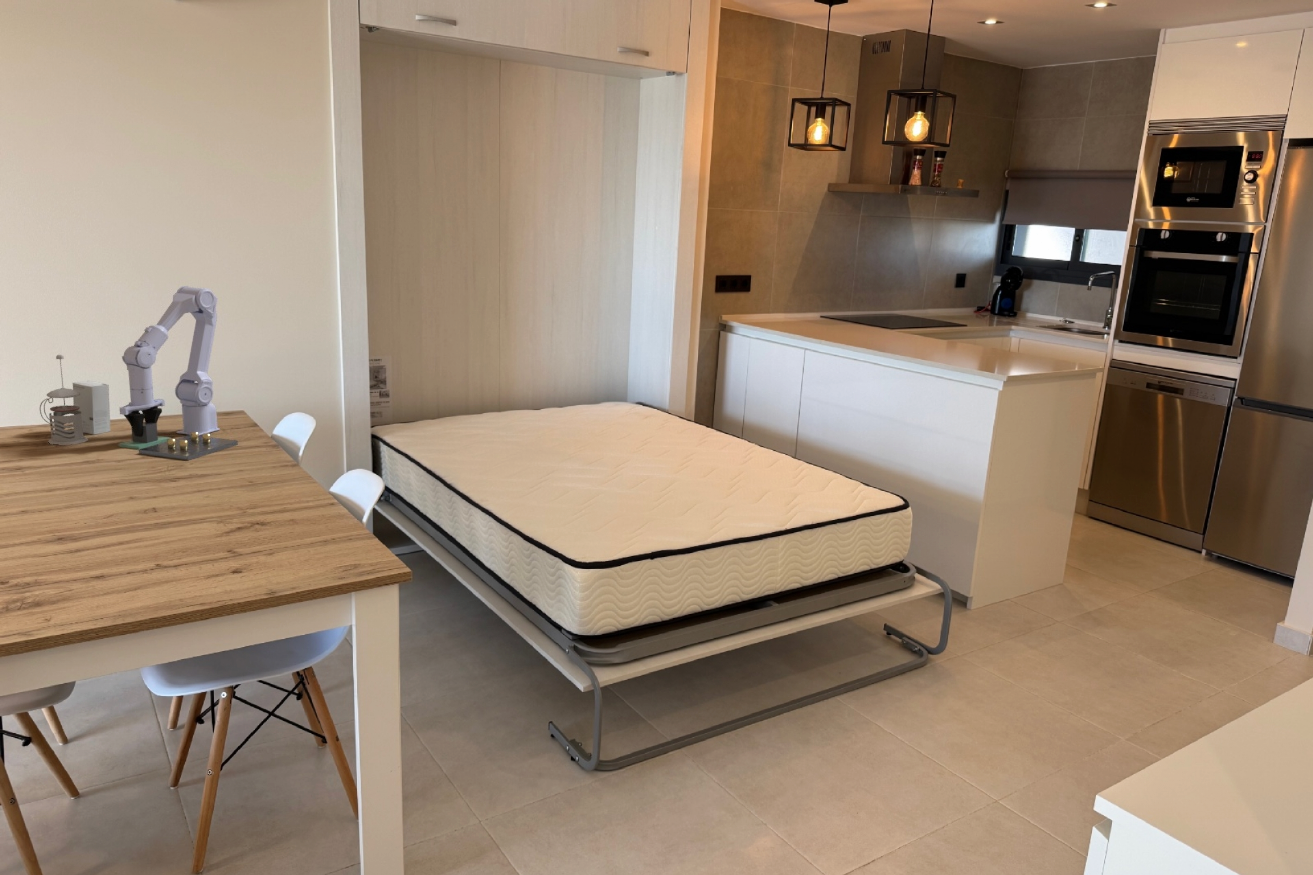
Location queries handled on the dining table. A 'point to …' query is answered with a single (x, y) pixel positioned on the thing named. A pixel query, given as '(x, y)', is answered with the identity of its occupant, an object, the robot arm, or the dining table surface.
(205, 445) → the plate
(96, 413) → the skincare box
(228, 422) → the dining table surface
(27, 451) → the dining table surface
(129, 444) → the board
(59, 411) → the french press
